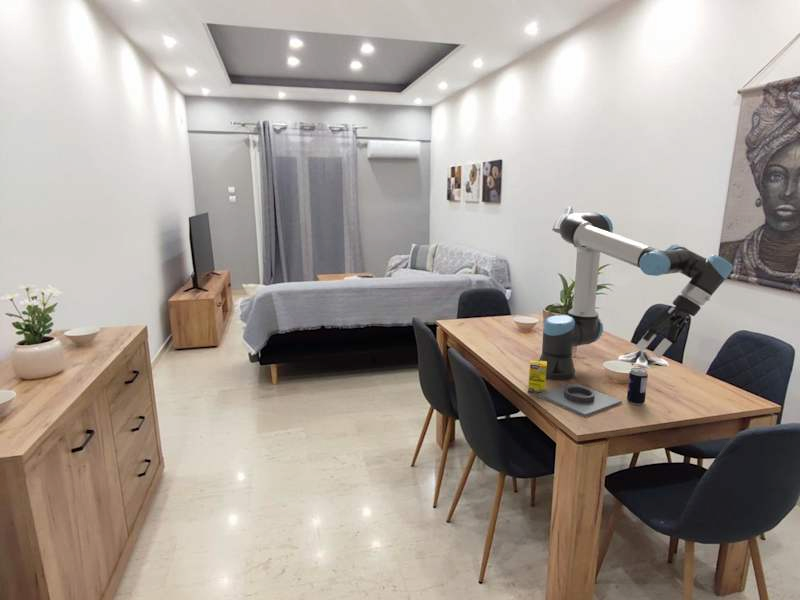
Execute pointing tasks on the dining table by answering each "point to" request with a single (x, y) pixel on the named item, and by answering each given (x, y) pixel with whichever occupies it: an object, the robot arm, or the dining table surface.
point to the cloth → (642, 359)
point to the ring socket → (580, 399)
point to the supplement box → (537, 376)
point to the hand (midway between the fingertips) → (647, 352)
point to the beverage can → (637, 386)
